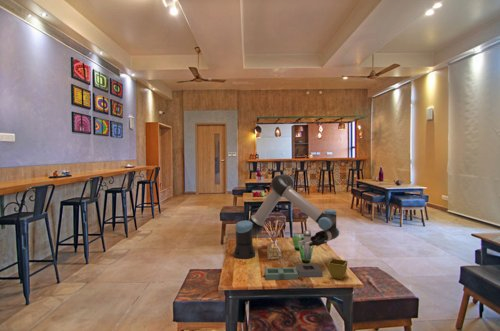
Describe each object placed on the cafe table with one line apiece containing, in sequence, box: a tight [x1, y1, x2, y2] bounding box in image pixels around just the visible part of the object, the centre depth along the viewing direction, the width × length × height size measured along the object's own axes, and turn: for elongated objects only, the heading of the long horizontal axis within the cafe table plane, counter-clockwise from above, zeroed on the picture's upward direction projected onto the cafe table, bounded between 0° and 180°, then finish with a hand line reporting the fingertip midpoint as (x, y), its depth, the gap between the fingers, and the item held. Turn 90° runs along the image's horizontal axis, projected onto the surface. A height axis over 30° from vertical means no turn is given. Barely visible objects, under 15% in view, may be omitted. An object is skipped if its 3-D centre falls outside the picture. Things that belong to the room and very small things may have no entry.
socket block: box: [295, 263, 323, 278], centre depth 177 cm, size 13×13×3 cm
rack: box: [264, 266, 299, 281], centre depth 173 cm, size 10×18×3 cm, turn 91°
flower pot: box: [327, 258, 348, 280], centre depth 169 cm, size 9×9×9 cm
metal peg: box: [303, 229, 312, 260], centre depth 176 cm, size 4×4×16 cm
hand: (302, 245), depth 172 cm, fingers closed on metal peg, 4 cm apart
